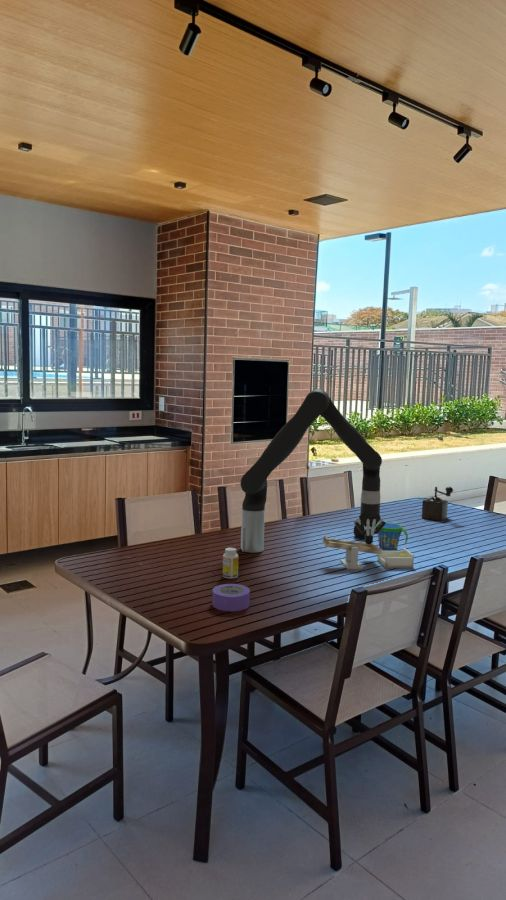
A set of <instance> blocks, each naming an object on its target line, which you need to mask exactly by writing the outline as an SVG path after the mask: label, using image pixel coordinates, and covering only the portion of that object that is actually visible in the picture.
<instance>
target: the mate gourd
mask: <svg viewBox="0 0 506 900" xmlns="http://www.w3.org/2000/svg"><path fill="white" fill-rule="evenodd" d="M358 519H359V518H356V519H355V521H356V520H358ZM360 523H361V525H360V526H361V527H362V529H363V530H364V531H365V528H364V525H363V524H362V522H361V521H360ZM353 535H354V537H356V538H357V539H365V534H362V533H361V532H360V530H359V529H358V528H357V526H356V525H355V524H354V528H353Z"/></svg>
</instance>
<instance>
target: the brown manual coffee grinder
mask: <svg viewBox="0 0 506 900" xmlns="http://www.w3.org/2000/svg"><path fill="white" fill-rule="evenodd" d="M453 492H454V489H453V487H452V486H447V487H445V492H443V491H440V490H438V486H435V487H434V496H432V497H429V498H426V499H422V504H421V505H422V506H421V519H425V520H432V521H438V522H441V521H444V520H446V519H447V518H448V507H449V506H448V505H449V501H448V500H446V499H442V498H440V497H438V495H437V493H438V494H442V495H445V496H446V497H451V496H452V495H451V494H453Z"/></svg>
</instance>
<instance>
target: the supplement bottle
mask: <svg viewBox="0 0 506 900" xmlns="http://www.w3.org/2000/svg"><path fill="white" fill-rule="evenodd" d="M222 576H223V578H224V579H229V580H230V579H231V580H232V579H236V578H237V579H238V577H239V554H238V553H237V548H235V547H227V548H225V549H224V553H223V554H222Z"/></svg>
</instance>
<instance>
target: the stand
mask: <svg viewBox="0 0 506 900" xmlns="http://www.w3.org/2000/svg"><path fill="white" fill-rule="evenodd" d="M358 559H359V551H358V547H352V548H351V550H346V549H345V558H341V559H340V560H339V561H340V563H342V564H343V566H344V567H345V568H346V570H363V569H364V566H362V565H361V563H359V560H358Z"/></svg>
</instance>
